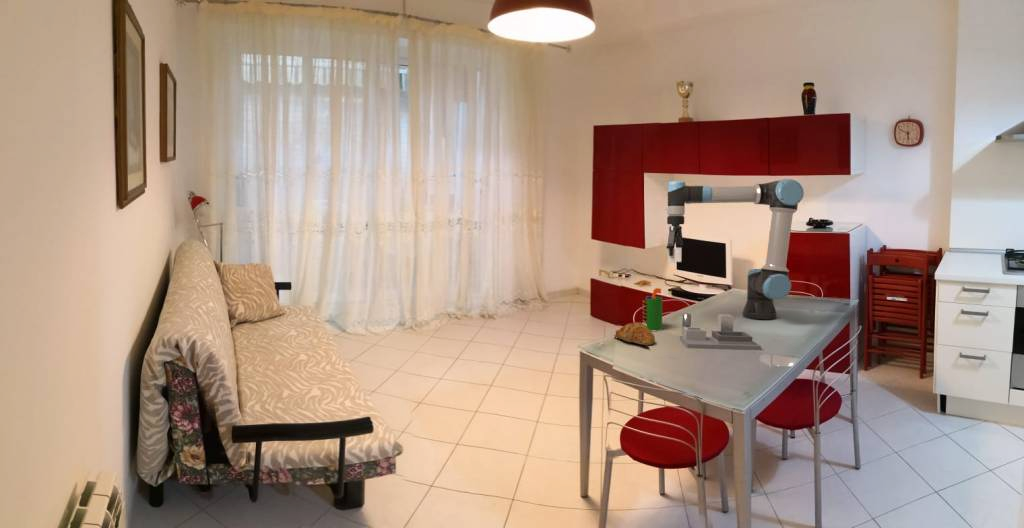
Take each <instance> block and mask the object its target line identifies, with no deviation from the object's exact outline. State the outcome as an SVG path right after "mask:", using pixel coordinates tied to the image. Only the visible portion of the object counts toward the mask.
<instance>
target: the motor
mask: <svg viewBox="0 0 1024 528" xmlns="http://www.w3.org/2000/svg"><path fill="white" fill-rule="evenodd" d="M657 294H662V289H661V288H660V287H656V288H654V289H653V291H652V294H651V296H645V299H643V300H642V306H643V307H642V314H643V315H642V318H643V319H642V322H645V325H646V324H647V326H646V327H648V329H649V330H660V329H662V330H663V297H660V296H656V295H657ZM660 331H661V330H660Z"/></svg>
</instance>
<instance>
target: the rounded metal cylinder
mask: <svg viewBox="0 0 1024 528" xmlns="http://www.w3.org/2000/svg"><path fill="white" fill-rule="evenodd" d="M681 325H682V327H681V328H682V329H681V334H682V335H683V327H692V313H689V312H687V313H685V312H683V313H682V324H681Z"/></svg>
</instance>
